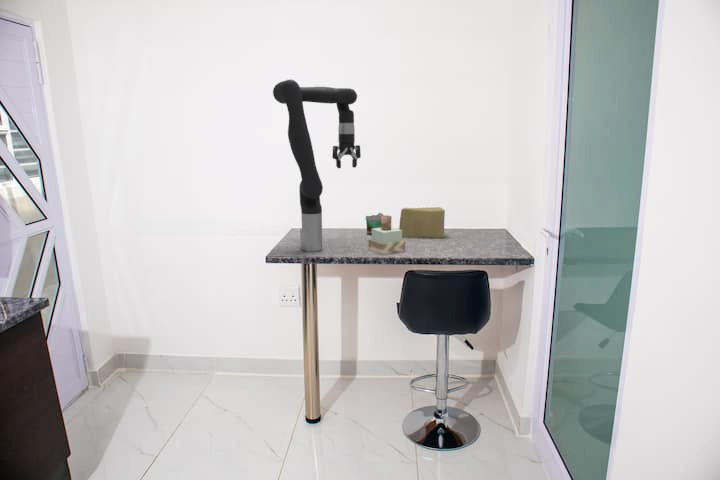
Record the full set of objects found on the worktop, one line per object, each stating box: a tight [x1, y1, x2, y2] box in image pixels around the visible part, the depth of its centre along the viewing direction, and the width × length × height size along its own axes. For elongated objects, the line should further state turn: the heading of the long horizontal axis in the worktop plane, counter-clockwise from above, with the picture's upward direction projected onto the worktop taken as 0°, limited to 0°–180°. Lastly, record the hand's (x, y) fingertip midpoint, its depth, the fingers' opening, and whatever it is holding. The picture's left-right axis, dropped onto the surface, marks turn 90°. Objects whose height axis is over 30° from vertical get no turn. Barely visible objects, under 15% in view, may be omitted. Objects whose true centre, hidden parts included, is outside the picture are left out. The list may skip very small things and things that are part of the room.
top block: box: [371, 226, 403, 244], centre depth 231 cm, size 10×10×5 cm
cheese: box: [398, 206, 446, 239], centre depth 258 cm, size 22×10×15 cm, turn 94°
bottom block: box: [367, 238, 406, 256], centre depth 232 cm, size 12×12×5 cm
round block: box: [381, 214, 393, 230], centre depth 230 cm, size 5×5×6 cm
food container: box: [365, 212, 385, 235], centre depth 267 cm, size 12×6×10 cm, turn 143°
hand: (346, 167), depth 242 cm, fingers open, 8 cm apart
